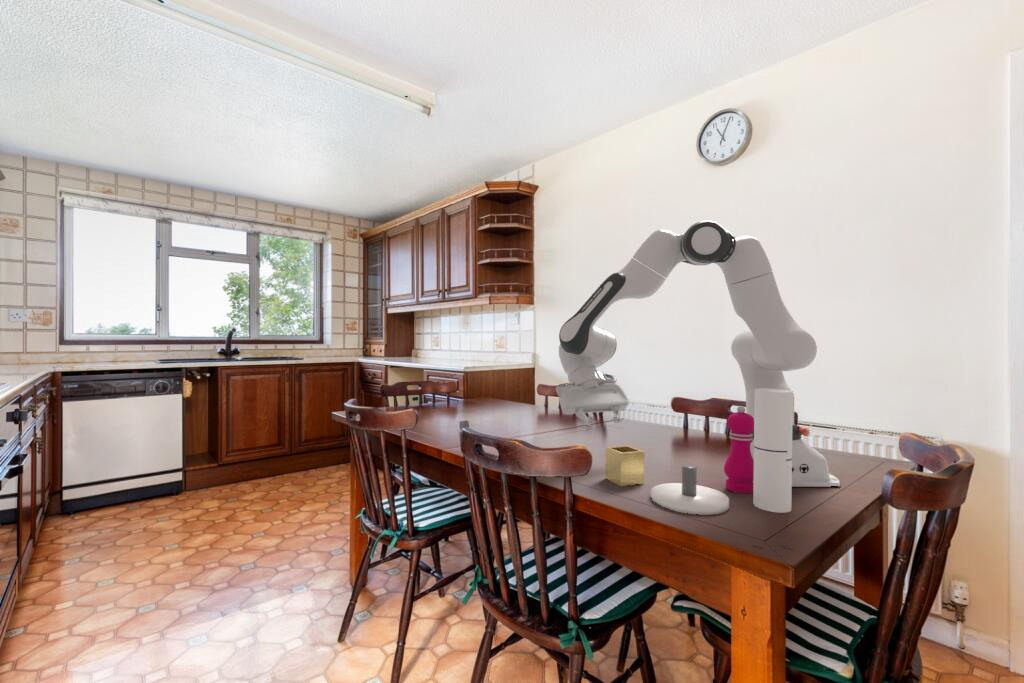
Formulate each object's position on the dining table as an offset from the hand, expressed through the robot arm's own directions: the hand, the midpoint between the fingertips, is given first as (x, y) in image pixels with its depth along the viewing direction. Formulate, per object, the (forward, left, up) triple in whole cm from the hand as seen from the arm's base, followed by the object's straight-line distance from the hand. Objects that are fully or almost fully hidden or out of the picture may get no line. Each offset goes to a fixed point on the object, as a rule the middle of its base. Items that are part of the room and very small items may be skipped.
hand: (603, 423), depth 125 cm
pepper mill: (-32, +10, -13) cm, 36 cm away
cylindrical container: (-35, +21, -13) cm, 43 cm away
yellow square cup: (-5, +9, -13) cm, 16 cm away
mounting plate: (-18, +21, -13) cm, 30 cm away
